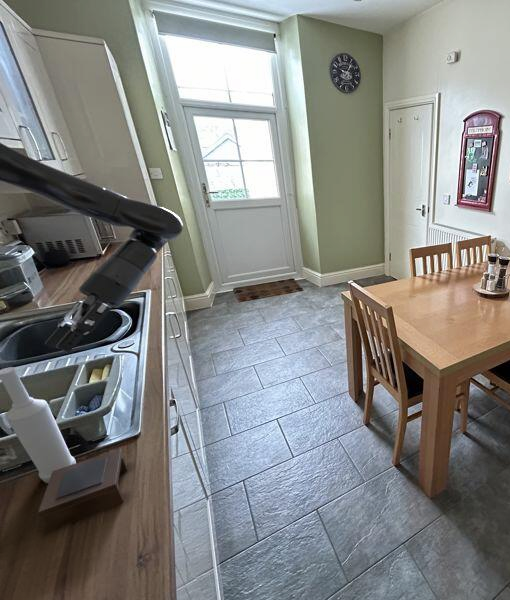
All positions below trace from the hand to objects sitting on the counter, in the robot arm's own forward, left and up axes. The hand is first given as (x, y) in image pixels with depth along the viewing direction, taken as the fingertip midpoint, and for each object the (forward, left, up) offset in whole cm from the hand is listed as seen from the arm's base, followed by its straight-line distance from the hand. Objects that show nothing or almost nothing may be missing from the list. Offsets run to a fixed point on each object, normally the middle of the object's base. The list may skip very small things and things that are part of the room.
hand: (56, 348), depth 64 cm
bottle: (0, -9, -24) cm, 26 cm away
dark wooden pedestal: (+10, -14, -24) cm, 29 cm away
